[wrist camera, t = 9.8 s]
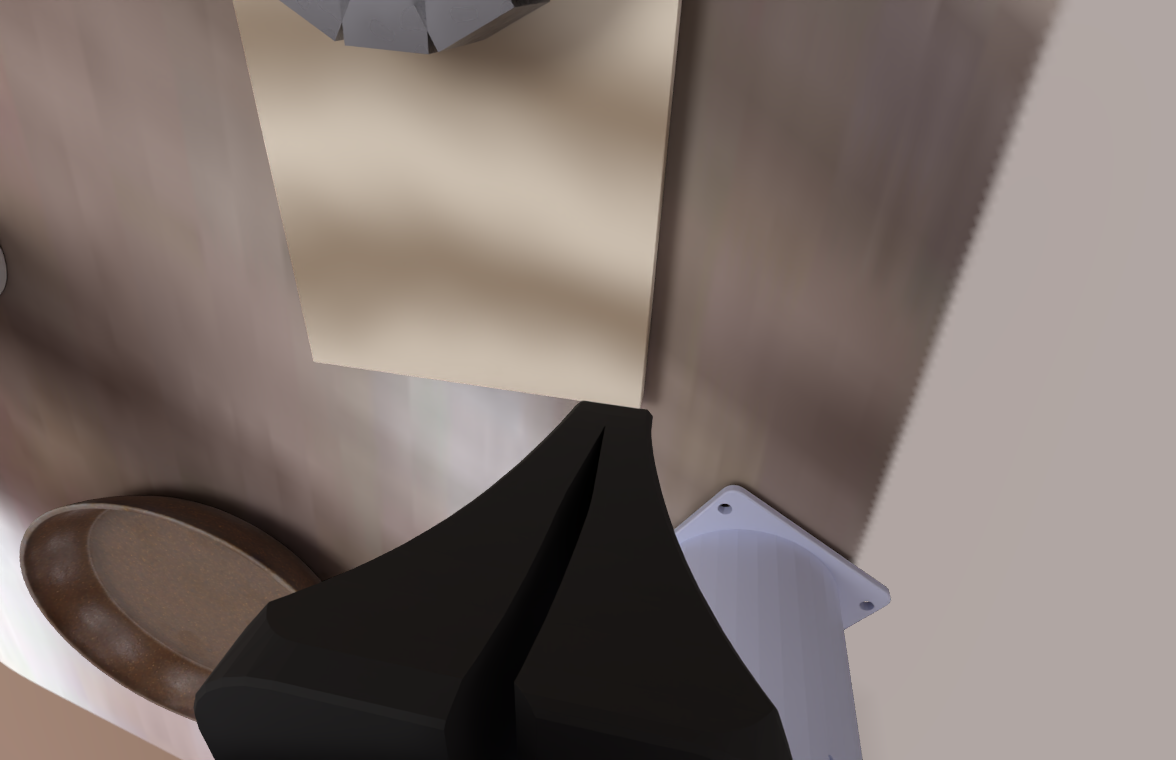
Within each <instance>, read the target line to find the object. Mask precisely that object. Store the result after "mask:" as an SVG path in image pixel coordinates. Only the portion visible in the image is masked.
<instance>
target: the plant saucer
mask: <svg viewBox="0 0 1176 760" xmlns="http://www.w3.org/2000/svg"><path fill="white" fill-rule="evenodd" d="M20 567H21V571H22V575H23V579H24V581H25V584H26V586H27V588H28V591H29V593H30V595H31V597H32V598H33V600H34V602H35V603H36V605H37V606H38V607H39V609H40V611H41V612H42V613H43V615H44V616H45V617H46V619H47V620H48V621H49V622H50V624H51V625H52V626H53V627H54V628H55V629H56V631H57V632H58V633H59V634H60V635H61V636H62V637H63V638H64V639H65V640H66V641H67V642H68V643H69V644H70V645H71V646H72V647H73V648H74V649H75V650H77V651H78V652H79V653H80V654H81V655H82V656H83V657H85V658H86V659H87V660H88V661H89V662H91V663H92V664H93V665H94V666H95V667H97V668H98V669H99V670H101V671H102V672H104V673H105V674H106V675H108V676H109V677H111V678H112V679H114V680H115V681H116V682H118V683H119V684H121V685H122V686H124V687H126V688H128V689H129V690H131V691H132V692H134V693H136V694H137V695H139V696H141V697H143V698H145V699H146V700H148V701H150V702H153V703H154V704H156V705H158V706H160V707H163V708H165V709H167V710H169V711H171V712H174V713H176V714H179V715H181V716H183V717H186V718H188V719H191V720H193V721H196V718H195V714H194V708H193V707H194V700H195V694H196V693H197V691H198V690H199V689H200V687H201V686H202V685H203V683H204V682H205V681H206V679H207V678H208V677H209V676H210V674H211V673H212V672H213V670H214V669H215V668H216V666H217V665H218V664H219V662H220V661H221V660H222V658H223V657H224V656H225V654H226V653H227V652H228V650H229V649H230V648H231V646H232V645H233V644H234V642H235V641H236V640H237V638H238V637H239V636H240V635H241V633H242V632H243V631H244V629H245V628H246V627H247V626H248V625H249V623H250V622H251V621H252V620H253V619H254V618H255V617H256V616H257V615H258V614H259V612H260V611H261V610H262V609H263V608H264V607H265V606H266V604H267V603H268V602H270V601H272V600H275V599H278V598H281V597H284V596H286V595H289V594H292V593H294V592H297V591H299V590H302V589H305V588H307V587H310V586H312V585H315V584H318V583H320V582H321V580H320V579H319V578H318V577H317V576H316V575H315V574H314V573H313V572H312V570H311V569H310V568H309V567H308V566H307V565H306V564H305V563H304V562H303V561H302V560H301V559H299V558H298V557H297V556H296V555H295V554H294V553H293V552H291V551H290V550H289V549H288V548H286V547H285V546H284V545H283V544H281V543H280V542H278V541H277V540H276V539H274V538H273V537H271V536H270V535H268V534H267V533H265V532H263V531H262V530H260V529H258V528H257V527H255V526H253V525H252V524H250V523H248V522H246V521H244V520H242V519H240V518H238V517H236V516H233V515H231V514H229V513H227V512H224V511H221V510H219V509H216V508H213V507H210V506H207V505H204V504H200V503H197V502H193V501H188V500H184V499H179V498H172V497H163V496H117V497H107V498H99V499H93V500H87V501H82V502H78V503H74V504H71V505H67V506H63V507H60V508H57V509H54V510H51V511H49V512H47V513H45V514H43V515H42V516H40V517H39V518H37V519H36V520H35V521H34V522H33V523H32V524H31V525H30V526H29V527H28V529H27V530H26V532H25V534H24V536H23V539H22V541H21V545H20ZM196 722H197V721H196Z"/></svg>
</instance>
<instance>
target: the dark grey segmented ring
mask: <svg viewBox="0 0 1176 760" xmlns="http://www.w3.org/2000/svg"><path fill="white" fill-rule="evenodd" d="M279 1H281V2H282V3H284V4H285V5H286V6H288V7H289V8H290V9H292V10H293V11H294V12H296V13H297V14H298V15H300V16H301V17H303V18H304V19H305V20H307V21H308V22H309V23H311V24H312V25H313V26H315V27H316V28H317V29H319V30H320V31H321V32H323V33H324V34H326V35H327V36H328V37H330V38H331V39H332V40H334V41H340V40H344V43H345V46H354V47H364V48H373V49H382V50H392V51H401V52H410V53H420V54H432V53H436V52H441V51H445V50H449V49H453V48H456V47H460V46H464V45H467V44H471V43H475V42H478V41H482V40H485V39H487V38H488V37H490V36H492V35H493V34H495V33H497V32H499V31H500V30H502V29H504V28H505V27H507V26H509V25H511V24H512V23H514V22H516V21H518V20H519V19H521V18H523V17H524V16H526V15H528V14H530V13H531V12H533V11H535V10H536V9H538V8H540V7H542V6H543V5H545V4H547V3H549V2H550V0H279Z"/></svg>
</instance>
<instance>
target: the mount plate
mask: <svg viewBox="0 0 1176 760" xmlns="http://www.w3.org/2000/svg"><path fill="white" fill-rule="evenodd" d="M233 4H234V9H235V13H236V18H237V22H238V27H239V31H240V35H241V40H242V44H243V49H244V53H245V58H246V62H247V67H248V71H249V76H250V80H251V84H252V89H253V93H254V98H255V102H256V107H257V111H258V116H259V120H260V125H261V129H262V133H263V138H264V142H265V147H266V151H267V156H268V160H269V165H270V169H271V174H272V178H273V182H274V187H275V191H276V196H277V200H278V205H279V209H280V214H281V218H282V223H283V227H284V231H285V236H286V240H287V245H288V249H289V254H290V258H291V263H292V267H293V272H294V276H295V281H296V285H297V289H298V294H299V298H300V303H301V307H302V312H303V316H304V321H305V325H306V330H307V334H308V338H309V343H310V347H311V352H312V356H313V361H314V362H319V363H326V364H333V365H339V366H346V367H353V368H360V369H367V370H374V371H380V372H387V373H394V374H401V375H408V376H415V377H421V378H428V379H435V380H442V381H449V382H455V383H462V384H469V385H476V386H483V387H490V388H496V389H503V390H510V391H517V392H524V393H531V394H537V395H544V396H551V397H558V398H565V399H572V400H578V401H583V400H584V401H591V402H597V403H604V404H611V405H618V406H625V407H632V408H638V409H640V406H641V402H642V398H643V394H644V385H645V375H646V364H647V354H648V344H649V333H650V323H651V313H652V303H653V292H654V282H655V272H656V261H657V251H658V241H659V231H660V220H661V210H662V200H663V189H664V179H665V169H666V159H667V148H668V138H669V128H670V117H671V107H672V97H673V87H674V76H675V66H676V56H677V45H678V35H679V25H680V15H681V4H682V0H550V2H549V3H547V4H545V5H543V6H542V7H540V8H538V9H536V10H535V11H533V12H531V13H530V14H528V15H526V16H524V17H523V18H521V19H519V20H518V21H516V22H514V23H512V24H511V25H509V26H507V27H505V28H504V29H502V30H500V31H499V32H497V33H495V34H493V35H492V36H490V37H488V38H487V39H485V40H482V41H478V42H475V43H471V44H467V45H464V46H460V47H456V48H453V49H449V50H445V51H441V52H436V53H432V54H420V53H410V52H401V51H392V50H382V49H373V48H364V47H354V46H345V43H344V40H340V41H334V40H332V39H331V38H330V37H328V36H327V35H326V34H324V33H323V32H321V31H320V30H319V29H317V28H316V27H315V26H313V25H312V24H311V23H309V22H308V21H307V20H305V19H304V18H303V17H301V16H300V15H298V14H297V13H296V12H294V11H293V10H292V9H290V8H289V7H288V6H286V5H285V4H284V3H282V2H281V1H279V0H233Z"/></svg>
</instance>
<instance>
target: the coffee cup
mask: <svg viewBox="0 0 1176 760" xmlns="http://www.w3.org/2000/svg"><path fill="white" fill-rule="evenodd" d="M6 280H7V271H6V264H5V259H4V255H3V253H2V250H1V248H0V294H1V293H2V291H3V290H4V288H5V284H6Z"/></svg>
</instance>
